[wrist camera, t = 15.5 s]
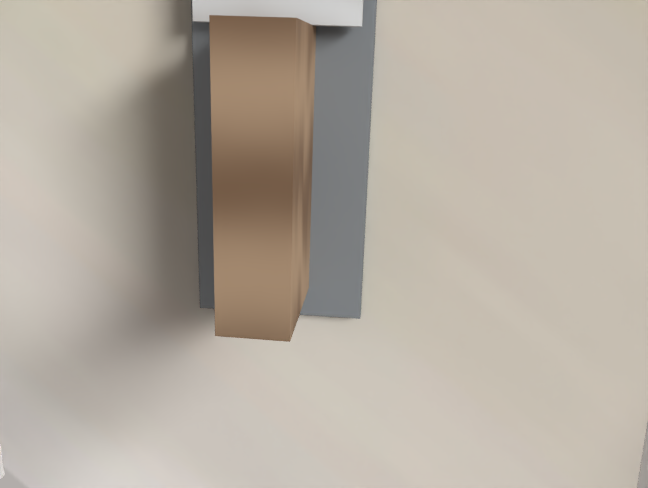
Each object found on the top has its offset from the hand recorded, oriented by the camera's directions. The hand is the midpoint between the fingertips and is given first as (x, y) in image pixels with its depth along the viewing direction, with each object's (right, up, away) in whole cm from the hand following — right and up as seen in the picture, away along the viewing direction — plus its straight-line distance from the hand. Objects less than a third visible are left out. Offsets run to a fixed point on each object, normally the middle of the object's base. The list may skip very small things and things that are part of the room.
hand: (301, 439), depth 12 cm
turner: (-1, +11, +15) cm, 19 cm away
